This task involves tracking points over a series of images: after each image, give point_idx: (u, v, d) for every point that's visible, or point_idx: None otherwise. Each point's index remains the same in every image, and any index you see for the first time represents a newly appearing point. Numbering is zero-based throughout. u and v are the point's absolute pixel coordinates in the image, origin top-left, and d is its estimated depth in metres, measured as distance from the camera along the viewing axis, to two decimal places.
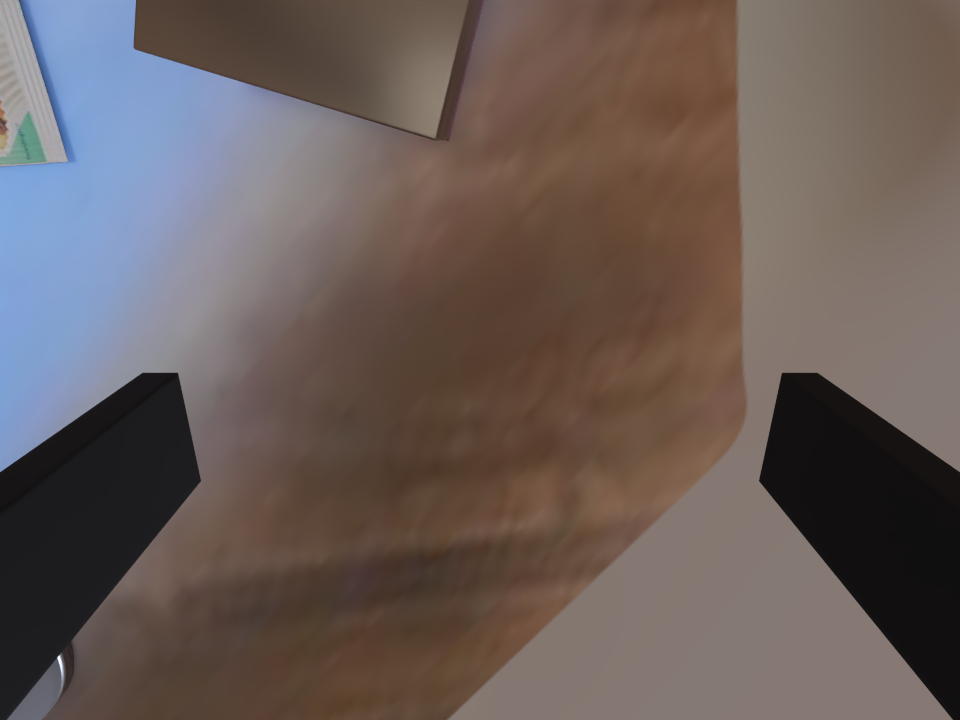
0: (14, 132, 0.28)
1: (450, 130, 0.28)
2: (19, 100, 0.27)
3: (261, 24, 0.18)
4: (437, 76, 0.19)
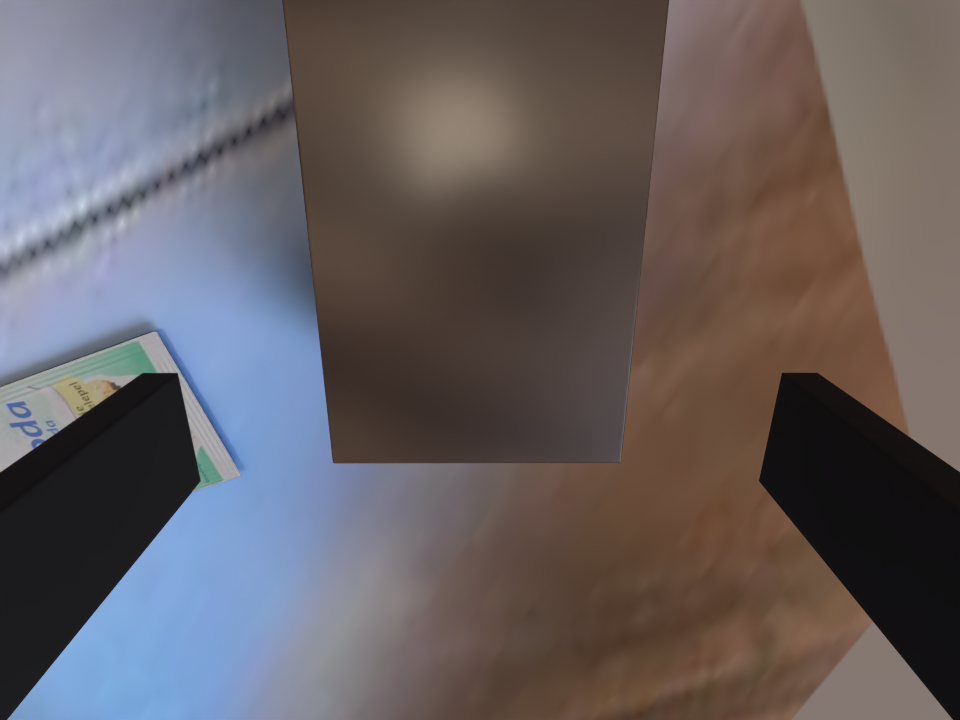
0: None
1: None
2: None
3: (442, 416, 0.20)
4: (612, 414, 0.20)
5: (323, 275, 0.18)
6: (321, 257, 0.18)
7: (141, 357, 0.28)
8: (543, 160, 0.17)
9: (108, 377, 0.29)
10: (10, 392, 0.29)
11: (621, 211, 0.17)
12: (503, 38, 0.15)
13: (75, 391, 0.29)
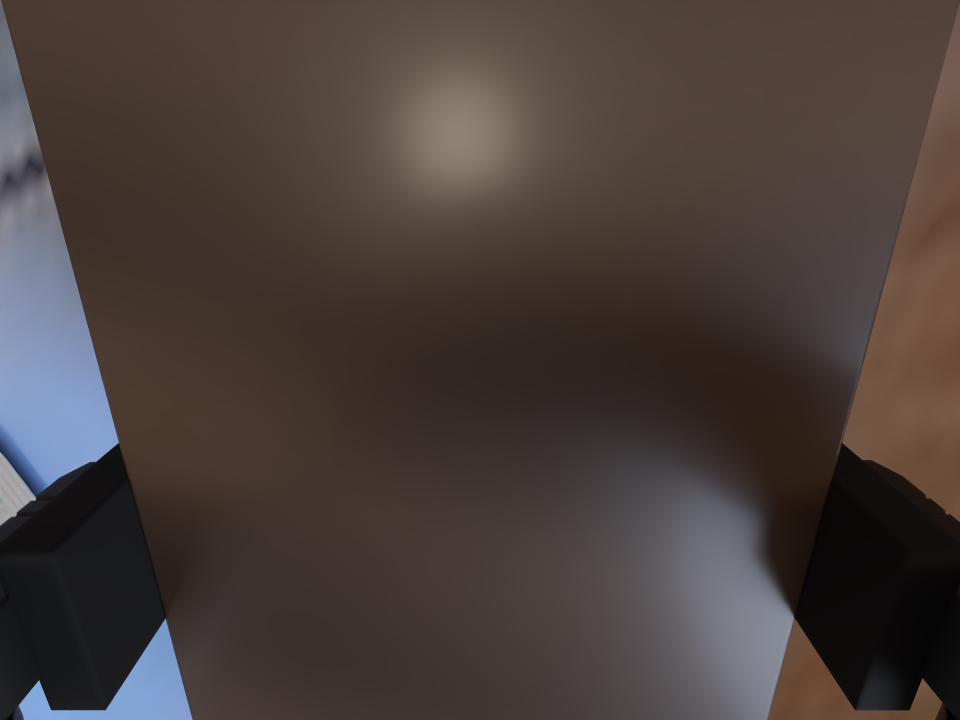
0: None
1: None
2: None
3: (411, 687, 0.10)
4: (752, 685, 0.10)
5: (140, 436, 0.08)
6: (130, 400, 0.08)
7: None
8: (645, 185, 0.07)
9: None
10: None
11: (820, 302, 0.07)
12: None
13: None
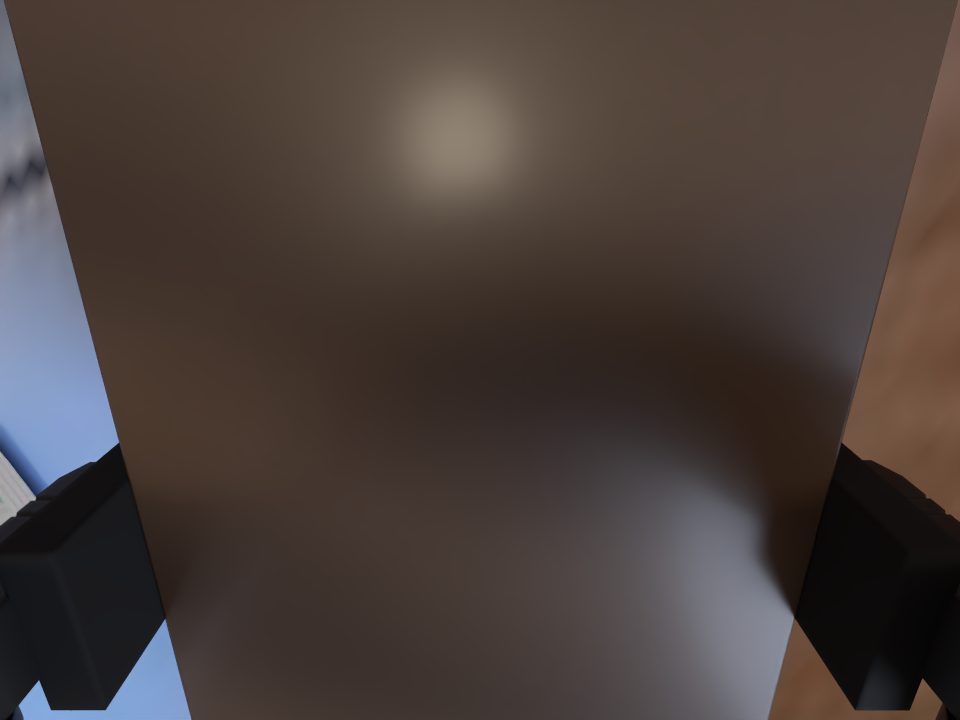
0: None
1: None
2: None
3: (411, 688, 0.10)
4: (752, 685, 0.10)
5: (140, 435, 0.08)
6: (130, 399, 0.08)
7: None
8: (644, 184, 0.07)
9: None
10: None
11: (819, 302, 0.07)
12: None
13: None
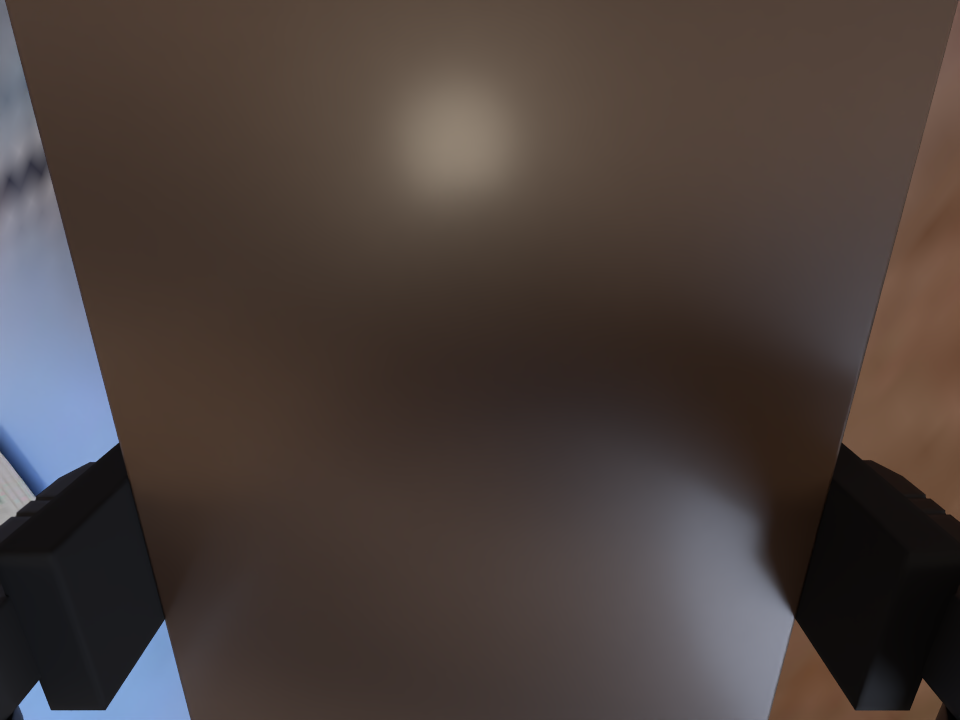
0: None
1: None
2: None
3: (411, 688, 0.10)
4: (752, 685, 0.10)
5: (140, 434, 0.08)
6: (130, 398, 0.08)
7: None
8: (645, 184, 0.07)
9: None
10: None
11: (820, 301, 0.07)
12: None
13: None
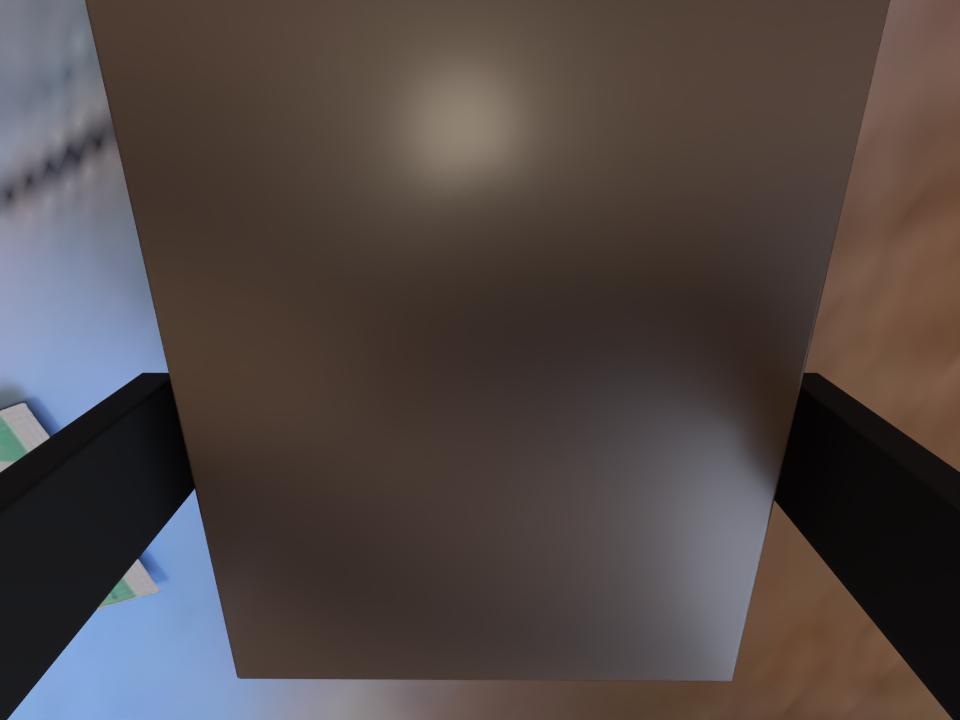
0: None
1: None
2: None
3: (423, 612, 0.11)
4: (726, 611, 0.11)
5: (190, 380, 0.09)
6: (183, 348, 0.09)
7: (7, 437, 0.20)
8: (625, 159, 0.08)
9: None
10: None
11: (778, 262, 0.08)
12: None
13: None
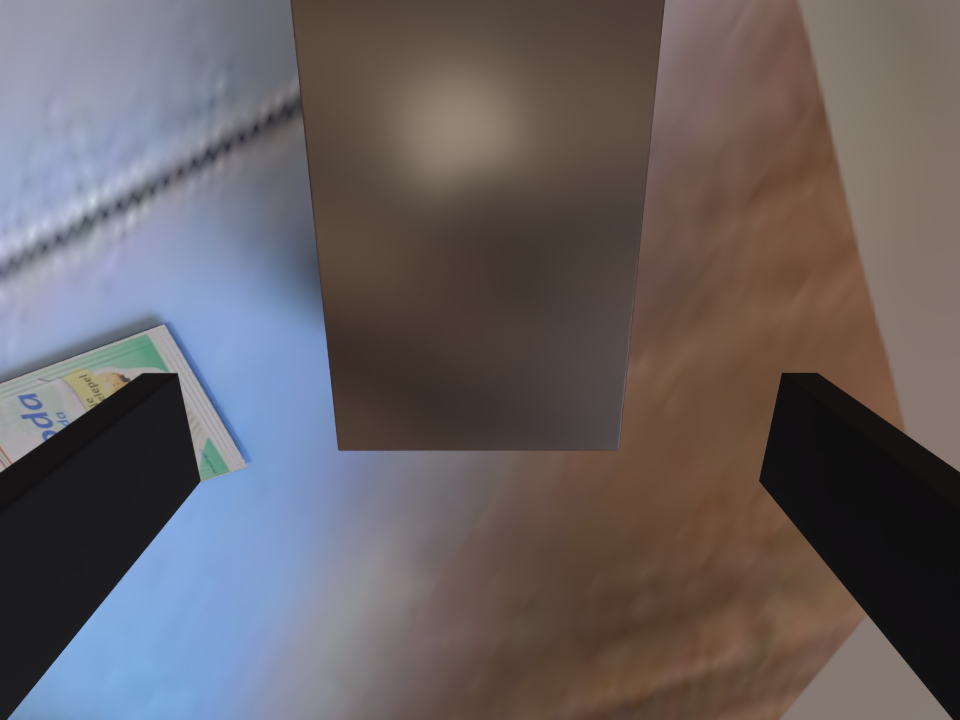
0: (198, 455, 0.31)
1: None
2: (198, 430, 0.31)
3: (444, 405, 0.20)
4: (611, 402, 0.20)
5: (329, 266, 0.18)
6: (327, 249, 0.18)
7: (149, 350, 0.29)
8: (543, 154, 0.17)
9: (117, 370, 0.29)
10: (22, 384, 0.30)
11: (619, 204, 0.18)
12: (504, 35, 0.16)
13: (85, 383, 0.30)
